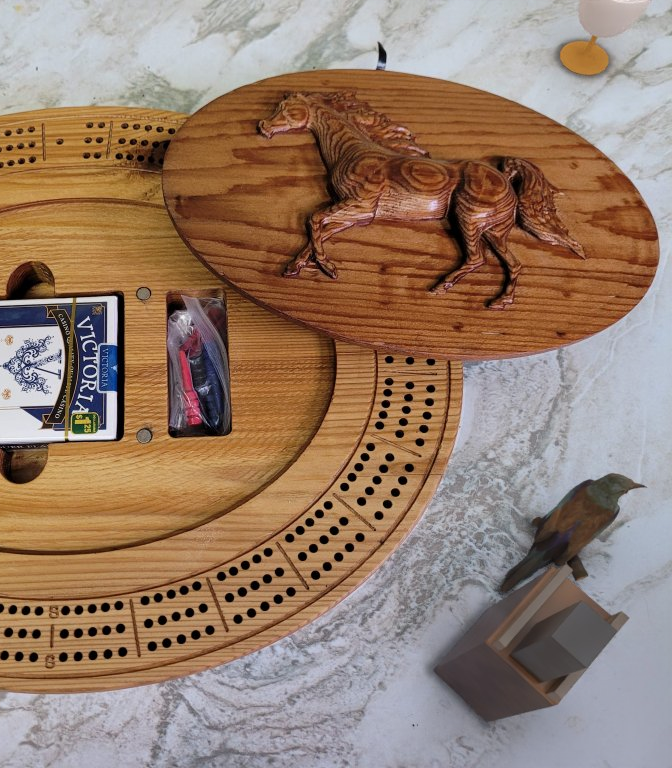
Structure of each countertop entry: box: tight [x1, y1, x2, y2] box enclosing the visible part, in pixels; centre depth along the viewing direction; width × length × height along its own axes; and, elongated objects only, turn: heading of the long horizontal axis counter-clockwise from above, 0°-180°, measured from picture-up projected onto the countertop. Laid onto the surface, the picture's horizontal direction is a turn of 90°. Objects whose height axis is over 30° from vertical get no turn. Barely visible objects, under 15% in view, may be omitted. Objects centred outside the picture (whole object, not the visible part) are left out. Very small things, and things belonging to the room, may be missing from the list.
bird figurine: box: [498, 472, 648, 594], centre depth 112 cm, size 13×10×20 cm
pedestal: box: [432, 568, 554, 723], centre depth 101 cm, size 9×12×23 cm
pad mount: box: [485, 563, 630, 707], centre depth 85 cm, size 9×12×13 cm
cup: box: [559, 0, 653, 76], centre depth 152 cm, size 12×12×17 cm
